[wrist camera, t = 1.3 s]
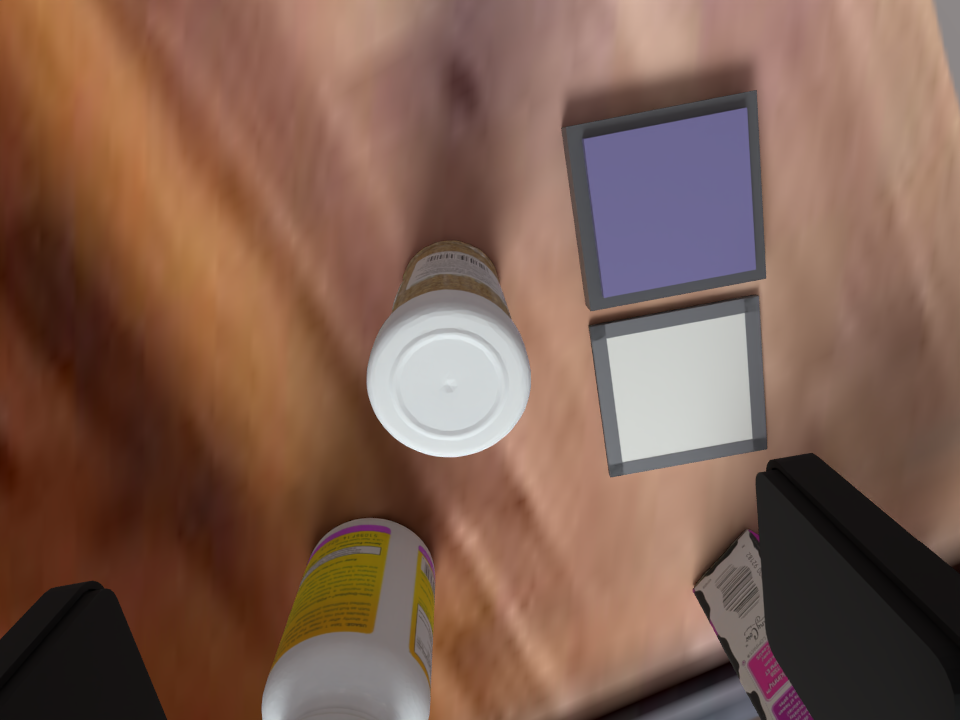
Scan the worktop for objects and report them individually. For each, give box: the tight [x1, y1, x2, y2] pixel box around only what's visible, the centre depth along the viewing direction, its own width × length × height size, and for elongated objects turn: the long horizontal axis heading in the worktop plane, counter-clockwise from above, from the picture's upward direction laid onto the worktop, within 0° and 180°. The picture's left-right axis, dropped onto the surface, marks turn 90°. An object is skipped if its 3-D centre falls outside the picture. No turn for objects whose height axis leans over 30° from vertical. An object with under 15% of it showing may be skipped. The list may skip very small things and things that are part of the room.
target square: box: [589, 295, 767, 477], centre depth 32 cm, size 8×8×1 cm
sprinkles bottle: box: [367, 240, 531, 457], centre depth 24 cm, size 5×4×14 cm
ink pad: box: [561, 90, 766, 311], centre depth 29 cm, size 8×8×2 cm
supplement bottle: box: [262, 518, 435, 720], centre depth 29 cm, size 7×7×13 cm
